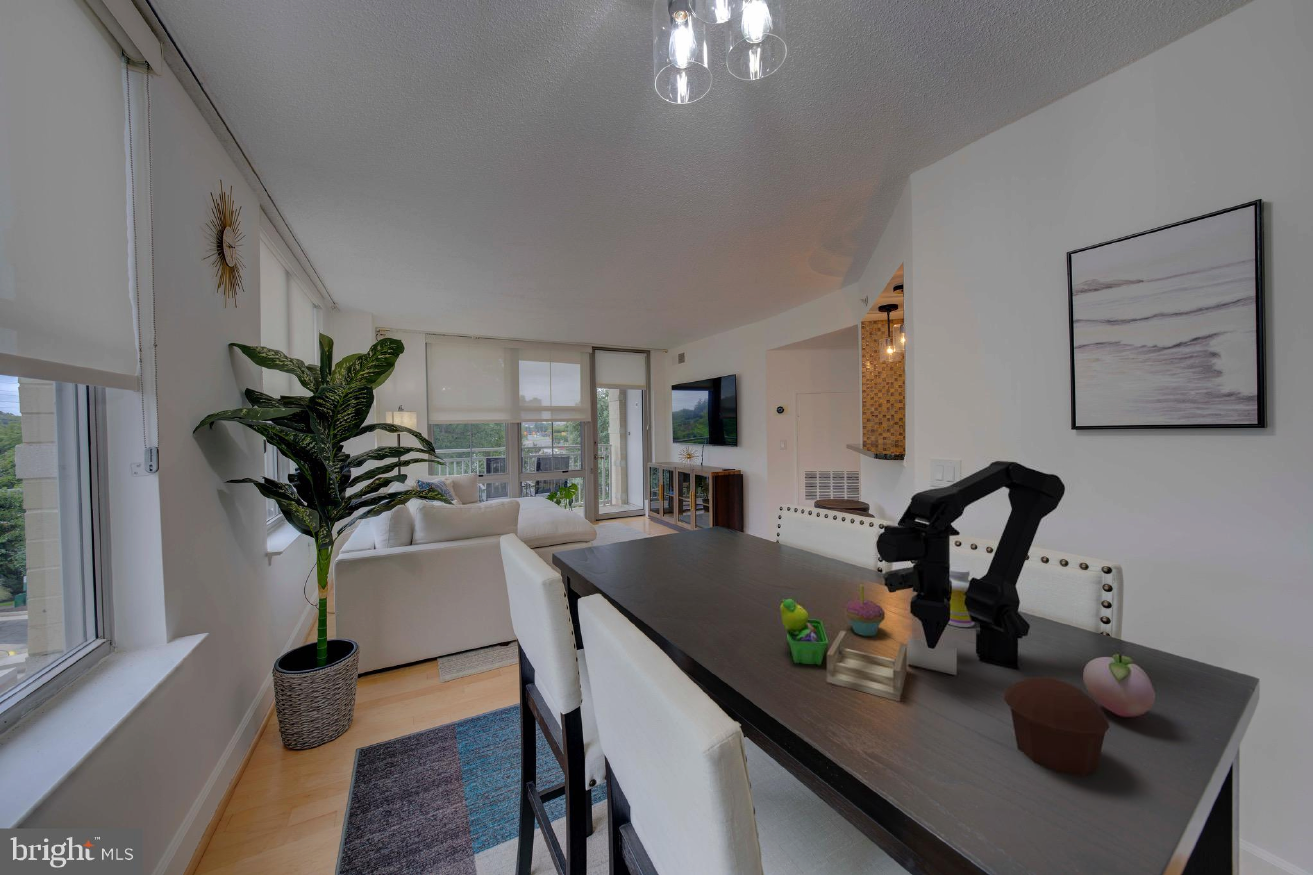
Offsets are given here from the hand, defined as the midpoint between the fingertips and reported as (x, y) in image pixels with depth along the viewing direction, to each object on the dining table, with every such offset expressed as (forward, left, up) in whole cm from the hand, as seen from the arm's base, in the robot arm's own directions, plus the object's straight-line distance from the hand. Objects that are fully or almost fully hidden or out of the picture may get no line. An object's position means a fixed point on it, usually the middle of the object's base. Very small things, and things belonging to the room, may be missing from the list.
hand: (932, 638), depth 93 cm
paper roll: (0, 0, -6) cm, 6 cm away
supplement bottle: (-4, -28, -6) cm, 29 cm away
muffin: (-16, +19, -6) cm, 26 cm away
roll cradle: (+10, +10, -6) cm, 15 cm away
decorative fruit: (-26, +2, -6) cm, 27 cm away
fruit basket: (+23, +7, -6) cm, 25 cm away
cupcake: (+14, -11, -6) cm, 19 cm away
